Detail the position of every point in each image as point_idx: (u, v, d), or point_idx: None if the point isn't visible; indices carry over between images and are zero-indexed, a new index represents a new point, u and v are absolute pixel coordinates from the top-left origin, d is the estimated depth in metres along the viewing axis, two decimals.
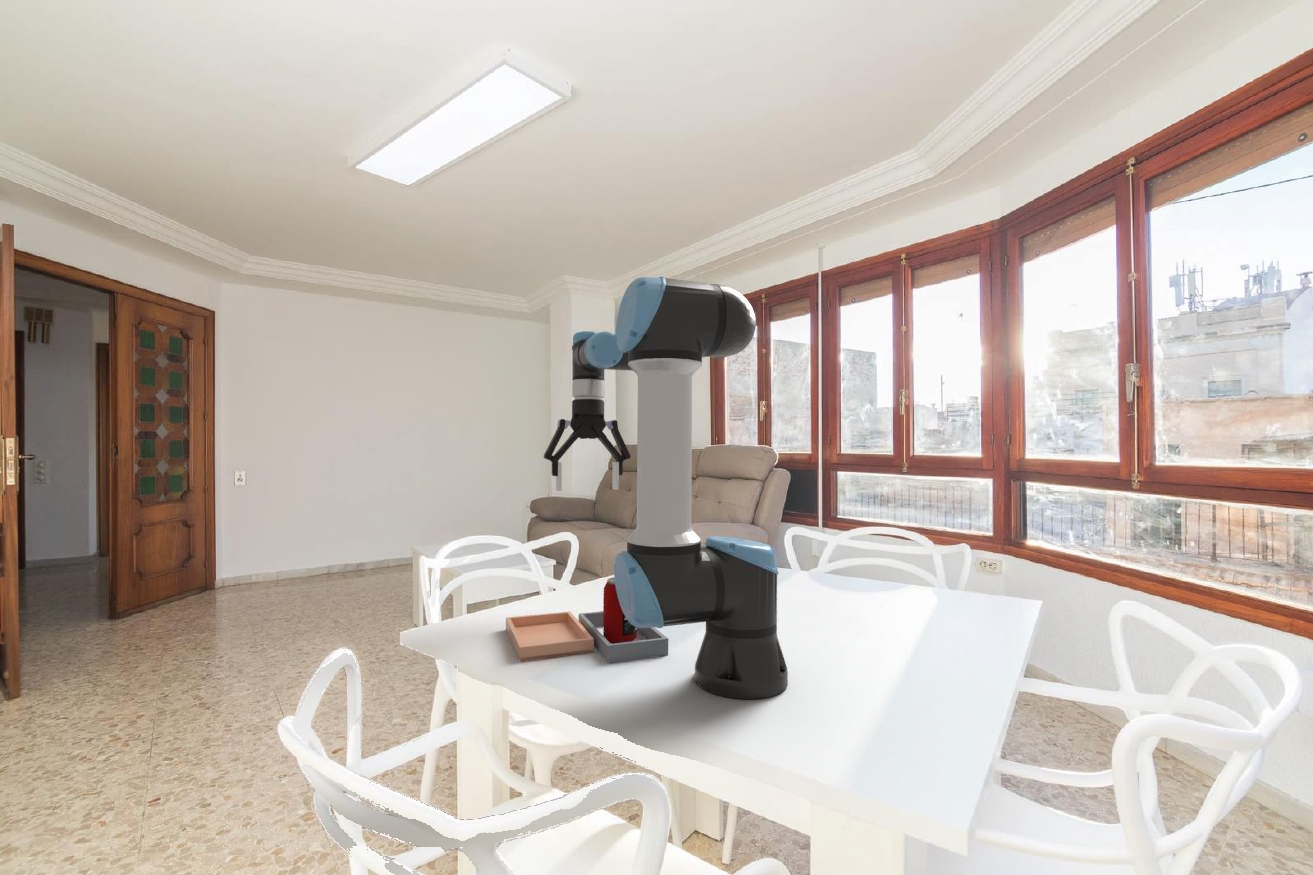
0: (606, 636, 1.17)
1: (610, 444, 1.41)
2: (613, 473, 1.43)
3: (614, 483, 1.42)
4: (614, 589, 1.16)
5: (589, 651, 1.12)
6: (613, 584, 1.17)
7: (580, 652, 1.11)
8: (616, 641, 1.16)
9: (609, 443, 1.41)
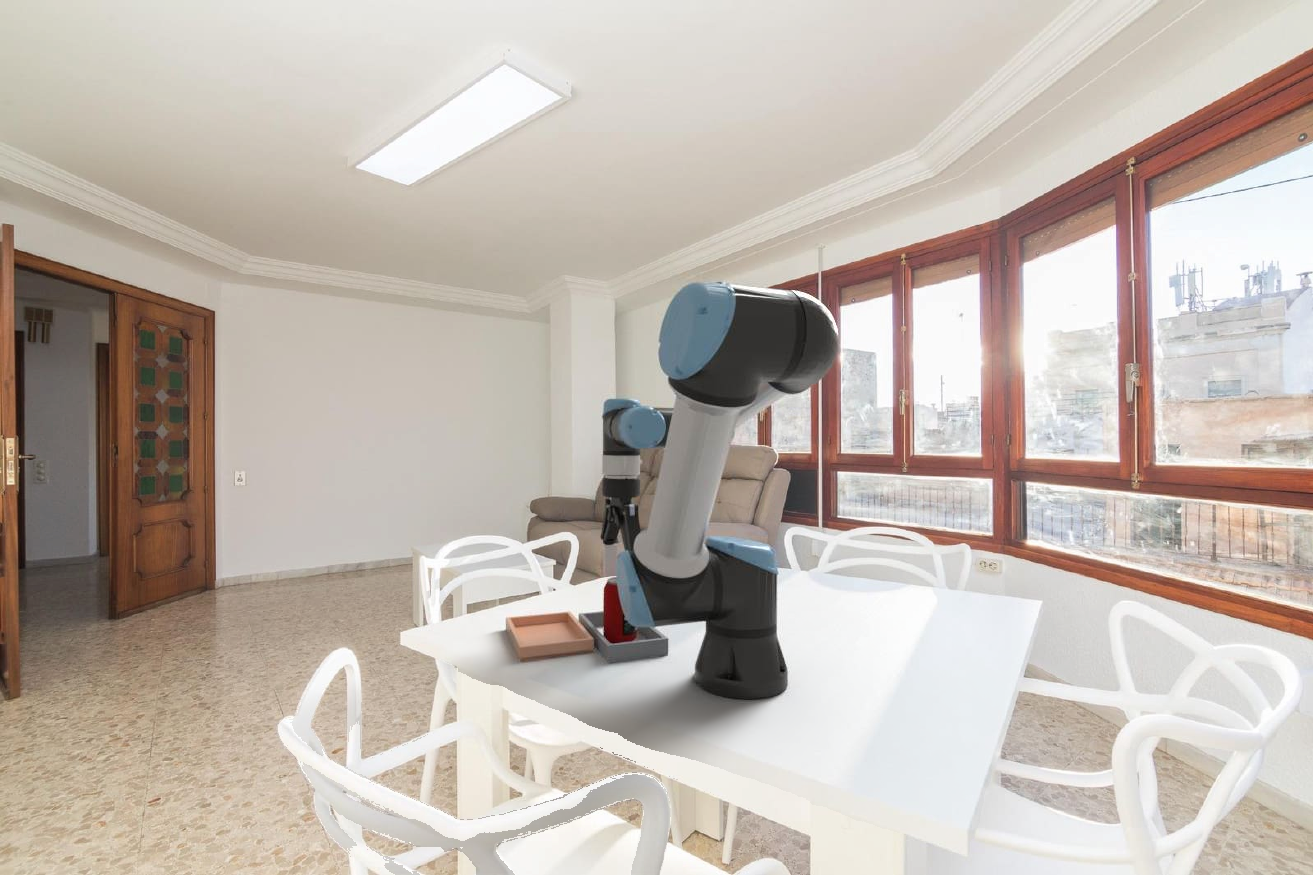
0: (606, 636, 1.17)
1: (623, 534, 1.14)
2: None
3: None
4: (614, 589, 1.16)
5: (589, 651, 1.12)
6: (613, 584, 1.17)
7: (580, 652, 1.11)
8: (616, 641, 1.16)
9: (622, 533, 1.14)
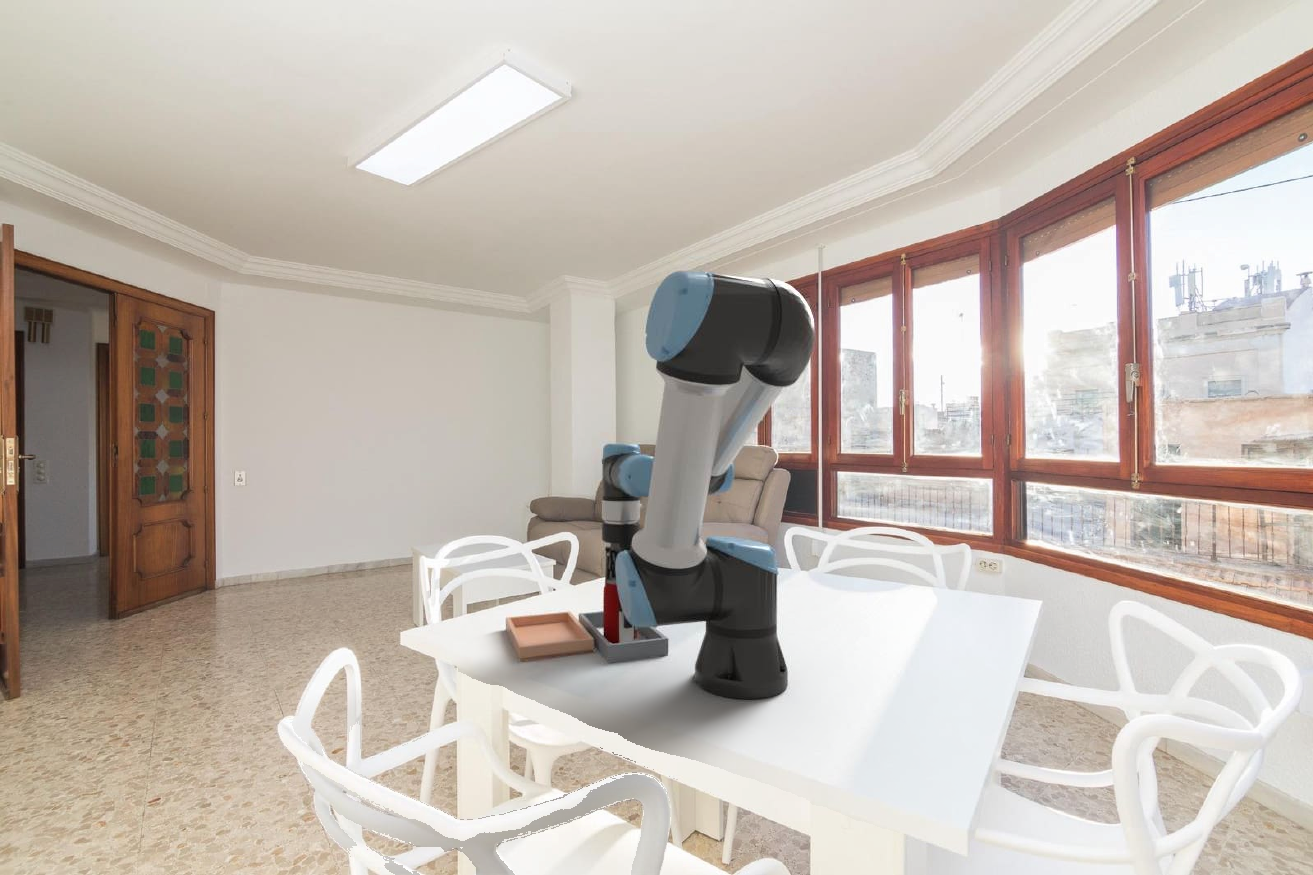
0: (606, 636, 1.17)
1: None
2: None
3: None
4: (614, 589, 1.16)
5: (589, 651, 1.12)
6: (613, 584, 1.17)
7: (580, 652, 1.11)
8: (616, 641, 1.16)
9: None
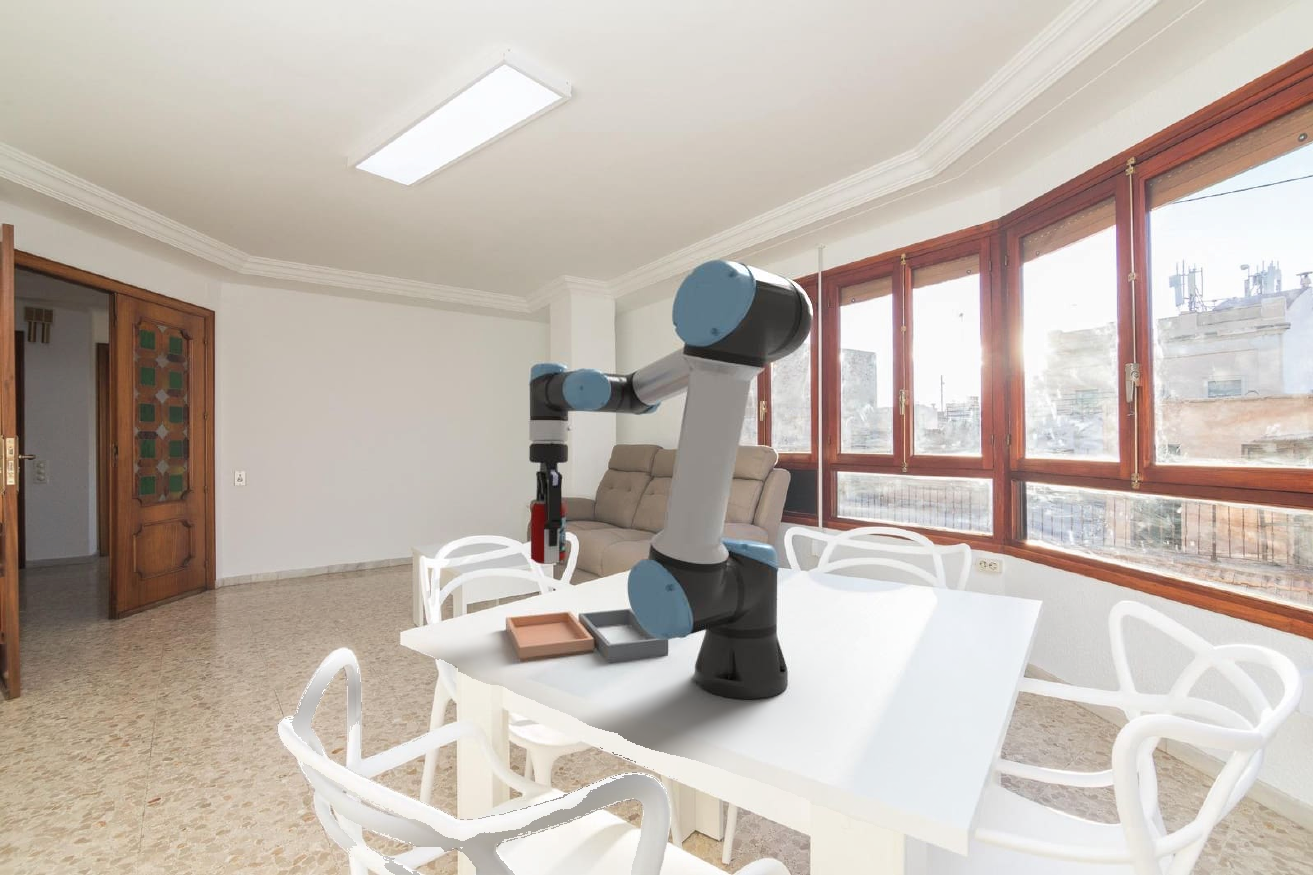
0: (532, 556, 1.17)
1: (545, 503, 1.15)
2: None
3: None
4: (540, 508, 1.16)
5: (589, 651, 1.12)
6: (539, 503, 1.17)
7: (580, 652, 1.11)
8: (542, 560, 1.16)
9: (545, 501, 1.15)
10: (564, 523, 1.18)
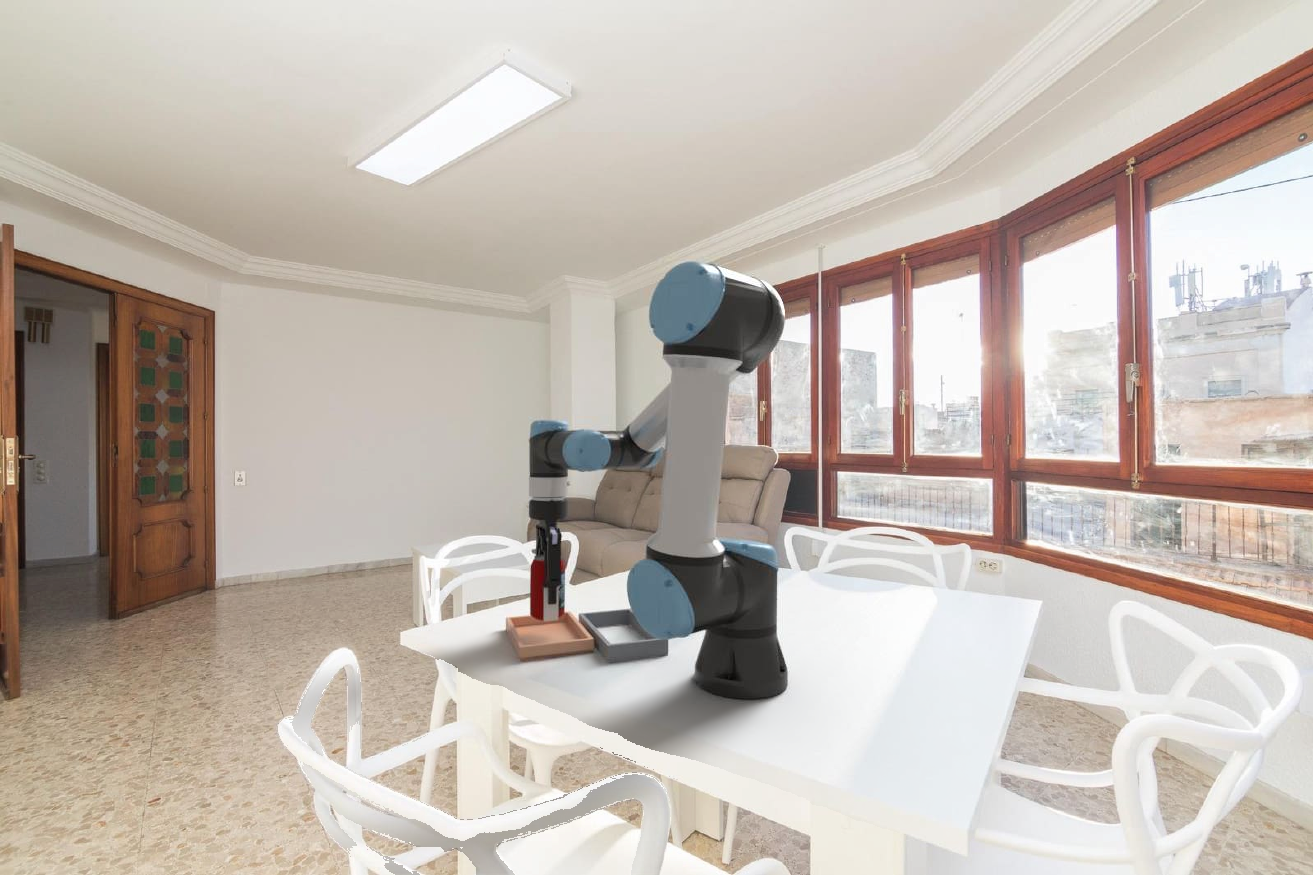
0: (532, 612, 1.17)
1: (545, 561, 1.15)
2: None
3: None
4: (539, 565, 1.16)
5: (589, 651, 1.12)
6: (539, 560, 1.16)
7: (580, 652, 1.11)
8: (541, 617, 1.16)
9: (545, 559, 1.15)
10: (563, 579, 1.18)
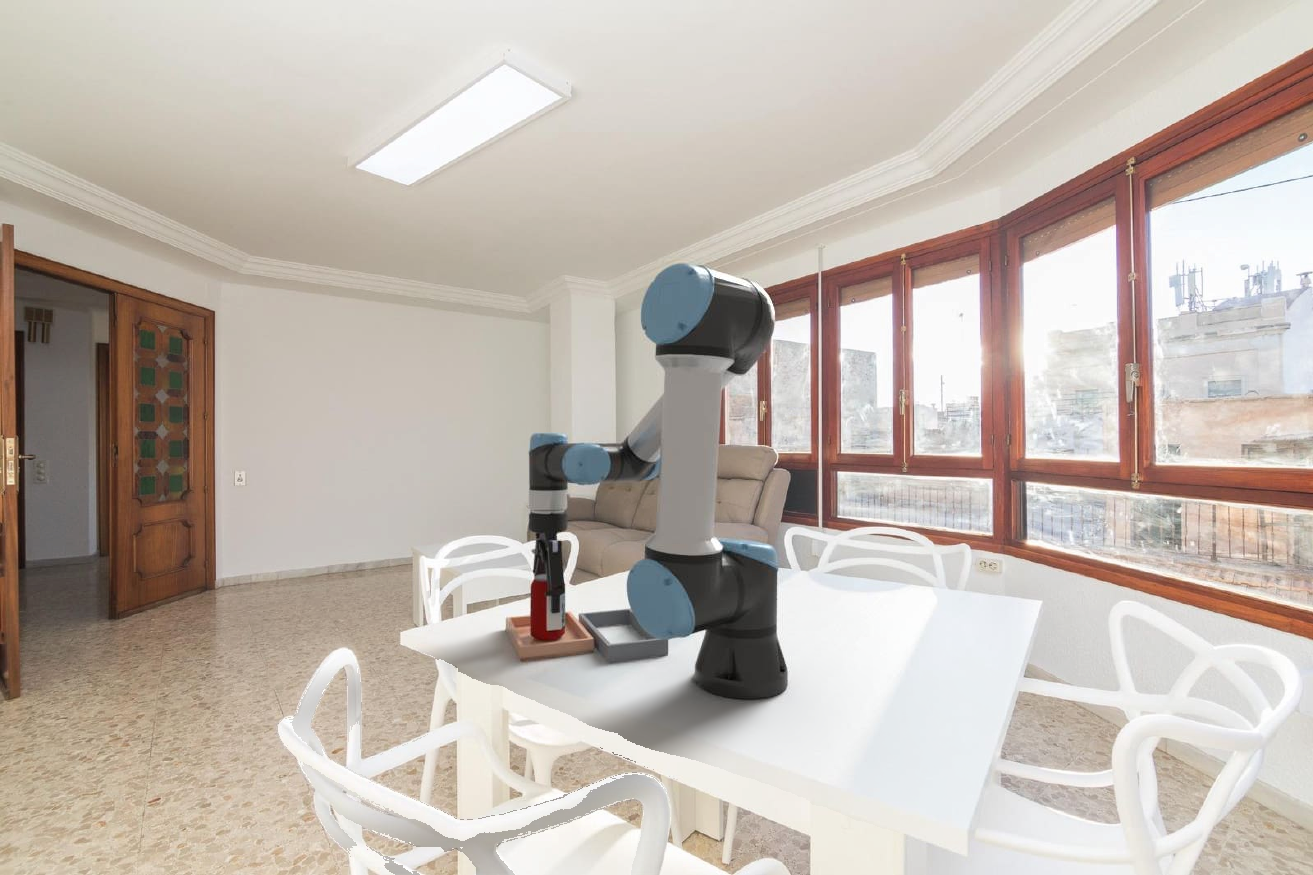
0: (532, 633, 1.17)
1: (546, 570, 1.14)
2: None
3: None
4: (539, 585, 1.16)
5: (589, 651, 1.12)
6: (539, 580, 1.16)
7: (580, 652, 1.11)
8: (541, 638, 1.15)
9: (546, 569, 1.14)
10: (564, 599, 1.18)
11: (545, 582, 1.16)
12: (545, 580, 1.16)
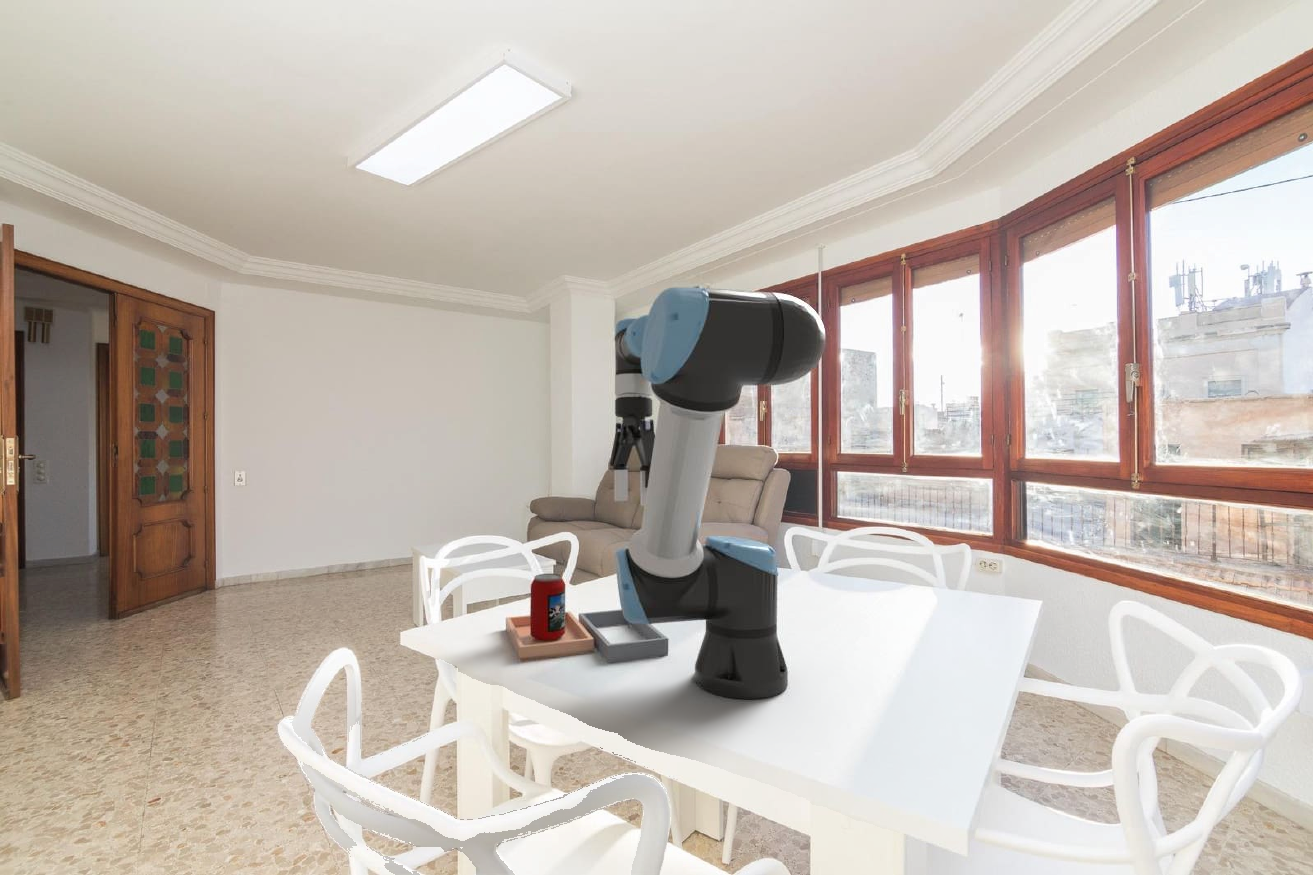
0: (532, 633, 1.17)
1: (638, 449, 1.16)
2: None
3: None
4: (539, 585, 1.16)
5: (589, 651, 1.12)
6: (539, 580, 1.16)
7: (580, 652, 1.11)
8: (541, 638, 1.15)
9: (638, 448, 1.16)
10: (564, 599, 1.18)
11: (545, 582, 1.16)
12: (545, 580, 1.16)
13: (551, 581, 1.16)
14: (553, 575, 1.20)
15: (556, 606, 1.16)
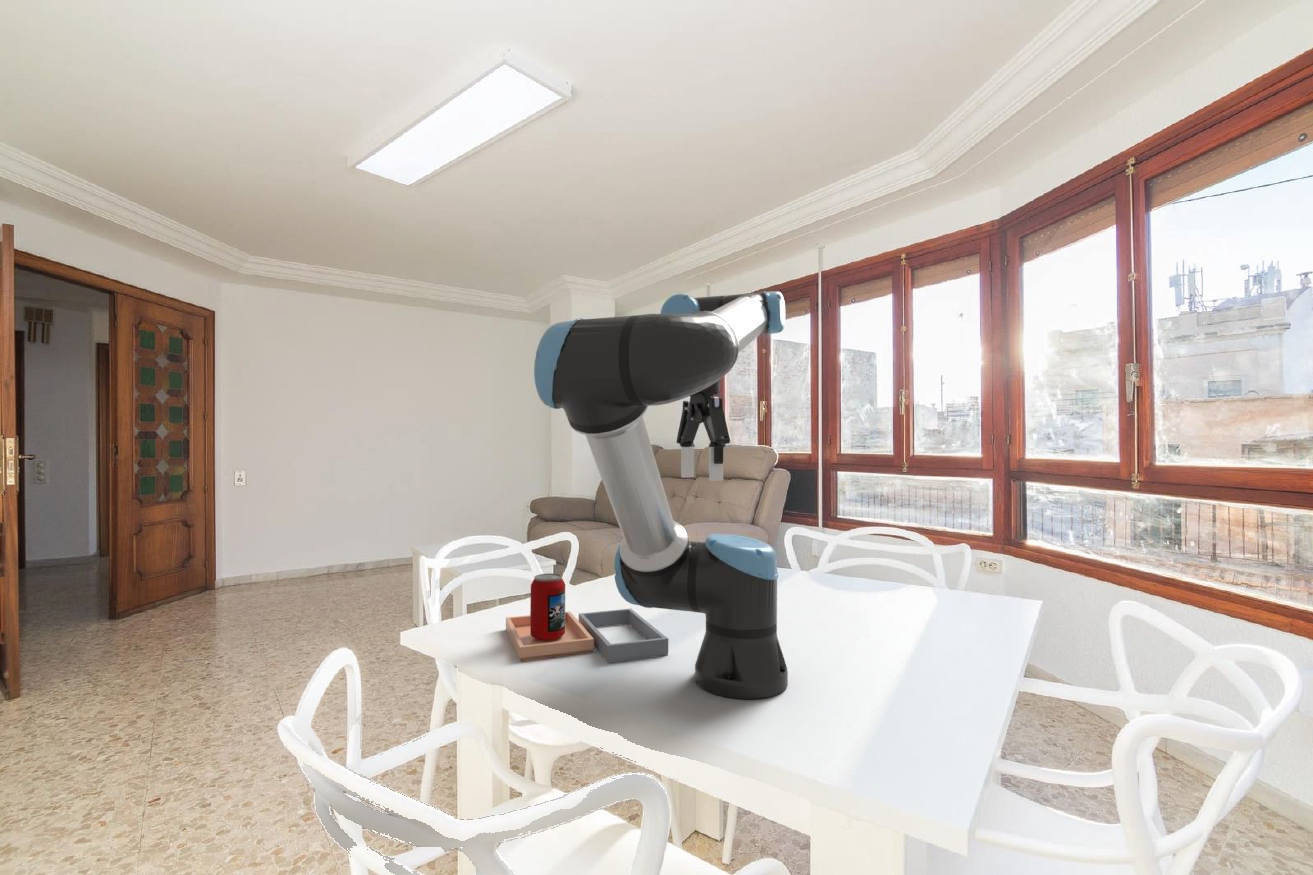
0: (532, 633, 1.17)
1: (707, 426, 1.18)
2: None
3: None
4: (539, 586, 1.16)
5: (589, 651, 1.12)
6: (539, 581, 1.16)
7: (580, 652, 1.11)
8: (541, 638, 1.15)
9: (706, 425, 1.18)
10: (564, 599, 1.18)
11: (545, 582, 1.16)
12: (545, 580, 1.16)
13: (551, 581, 1.16)
14: (553, 575, 1.20)
15: (556, 606, 1.16)
